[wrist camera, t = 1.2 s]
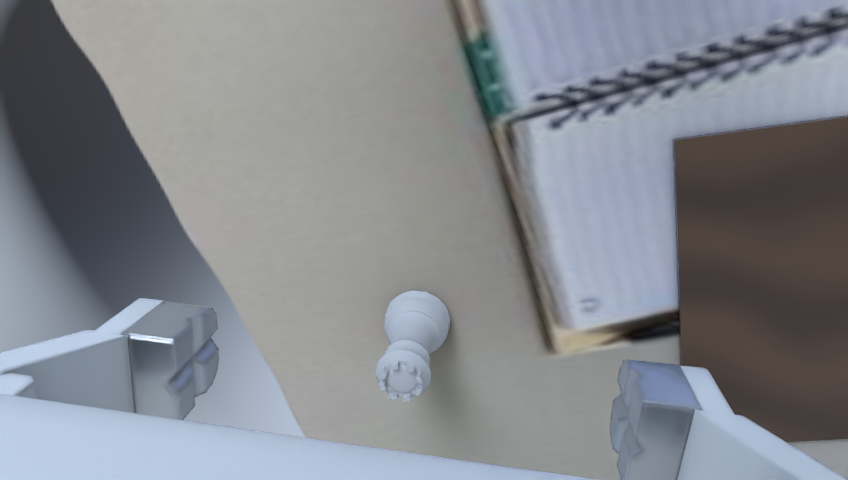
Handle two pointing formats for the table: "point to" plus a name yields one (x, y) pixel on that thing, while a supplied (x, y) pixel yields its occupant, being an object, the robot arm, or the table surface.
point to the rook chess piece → (411, 343)
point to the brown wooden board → (768, 271)
